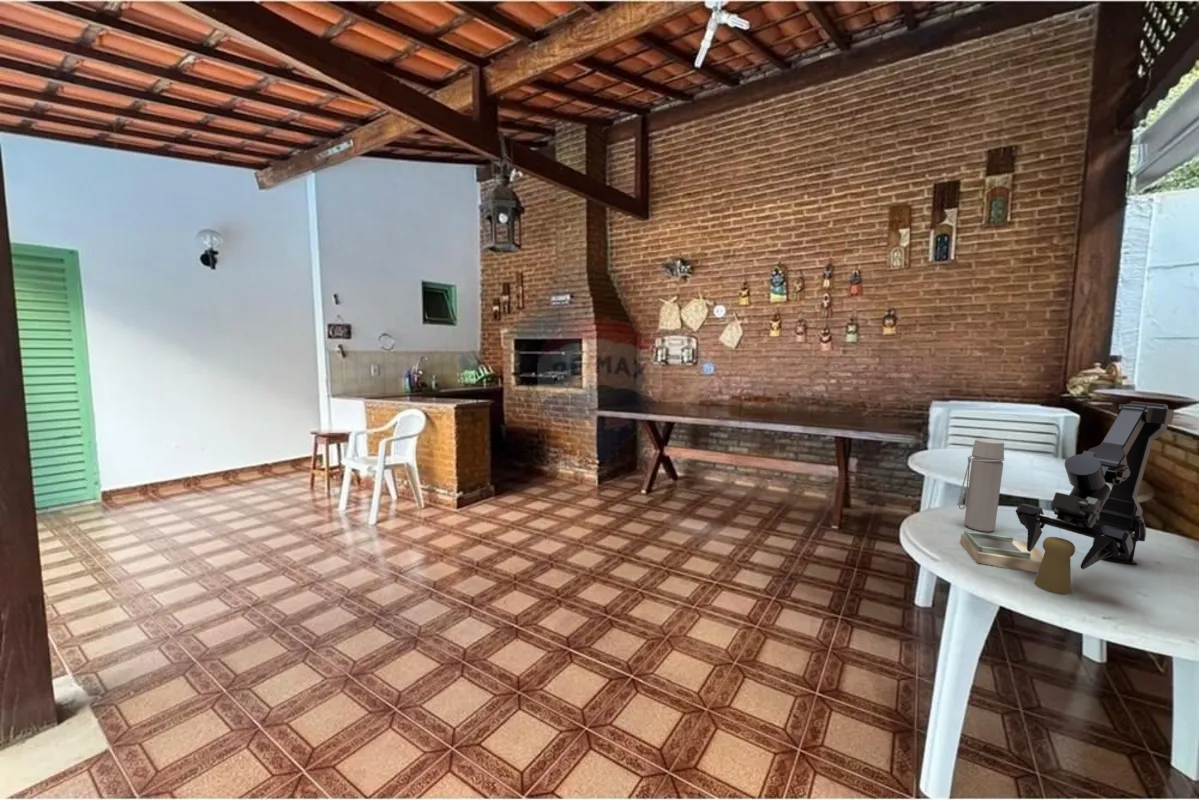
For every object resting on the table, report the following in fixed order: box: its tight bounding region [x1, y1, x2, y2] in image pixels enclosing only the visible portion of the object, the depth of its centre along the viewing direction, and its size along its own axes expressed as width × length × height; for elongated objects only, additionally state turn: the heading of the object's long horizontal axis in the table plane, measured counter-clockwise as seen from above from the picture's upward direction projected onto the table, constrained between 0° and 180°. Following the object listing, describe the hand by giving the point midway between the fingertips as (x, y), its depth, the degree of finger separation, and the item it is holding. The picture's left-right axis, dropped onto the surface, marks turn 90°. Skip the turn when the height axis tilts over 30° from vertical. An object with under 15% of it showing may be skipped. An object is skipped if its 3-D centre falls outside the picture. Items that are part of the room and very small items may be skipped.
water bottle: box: [958, 438, 1006, 533], centre depth 144 cm, size 9×8×25 cm
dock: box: [959, 530, 1045, 573], centre depth 126 cm, size 15×13×4 cm
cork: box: [1033, 536, 1076, 596], centre depth 111 cm, size 6×6×11 cm
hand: (1054, 558), depth 110 cm, fingers open, 9 cm apart
